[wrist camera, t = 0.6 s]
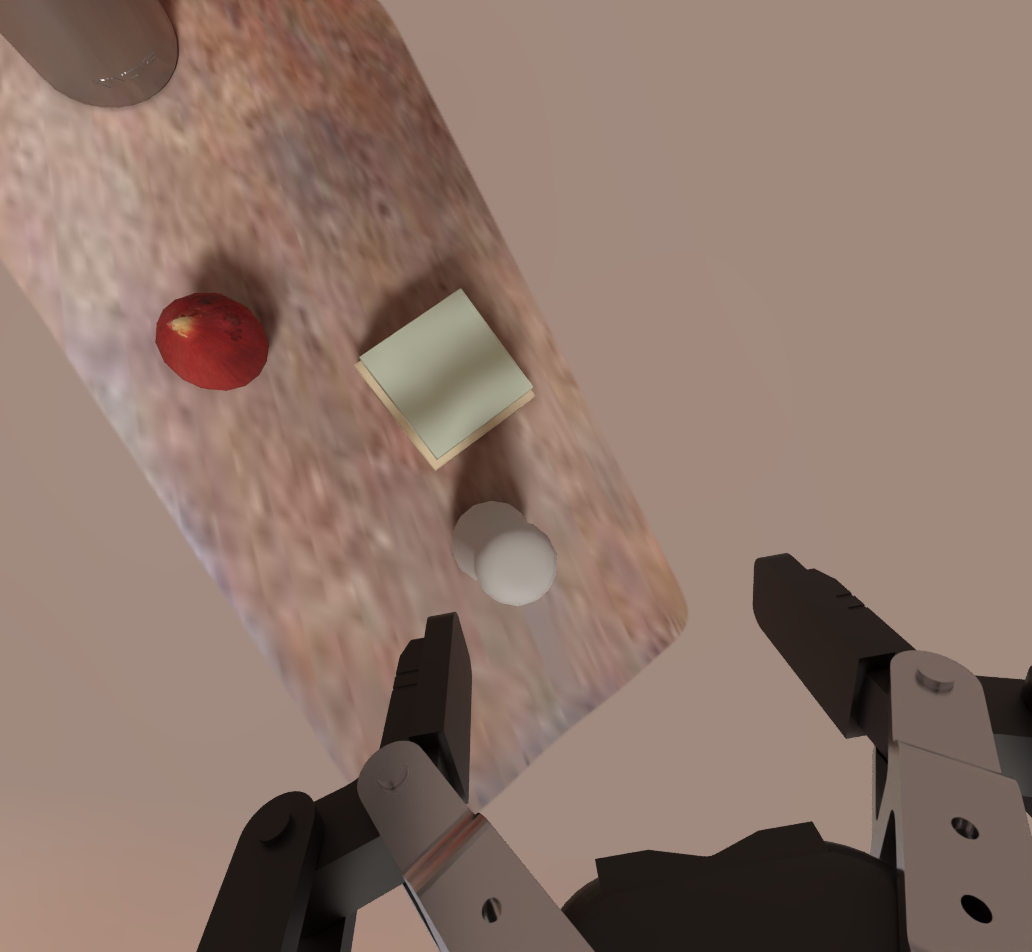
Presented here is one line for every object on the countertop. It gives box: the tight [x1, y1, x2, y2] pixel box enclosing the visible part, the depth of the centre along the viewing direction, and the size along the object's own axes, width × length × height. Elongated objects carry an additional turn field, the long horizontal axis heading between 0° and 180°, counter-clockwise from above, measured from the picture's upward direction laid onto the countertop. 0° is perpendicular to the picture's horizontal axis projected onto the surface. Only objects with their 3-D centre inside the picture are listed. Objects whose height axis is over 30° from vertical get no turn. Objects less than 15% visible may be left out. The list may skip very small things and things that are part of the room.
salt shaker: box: [452, 501, 557, 606], centre depth 30 cm, size 6×6×13 cm
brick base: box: [354, 288, 535, 471], centre depth 33 cm, size 9×9×5 cm
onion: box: [155, 293, 269, 391], centre depth 29 cm, size 6×6×8 cm
